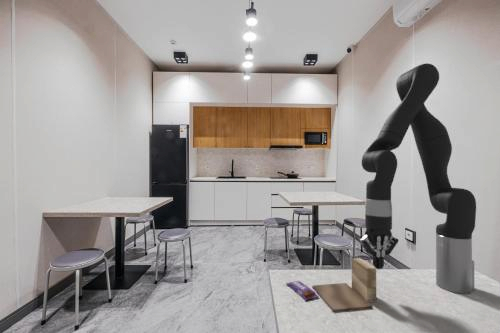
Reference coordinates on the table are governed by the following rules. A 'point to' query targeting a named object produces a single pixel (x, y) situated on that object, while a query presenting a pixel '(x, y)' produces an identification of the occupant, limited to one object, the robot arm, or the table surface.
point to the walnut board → (341, 297)
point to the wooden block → (364, 279)
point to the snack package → (302, 290)
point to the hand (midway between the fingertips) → (378, 267)
